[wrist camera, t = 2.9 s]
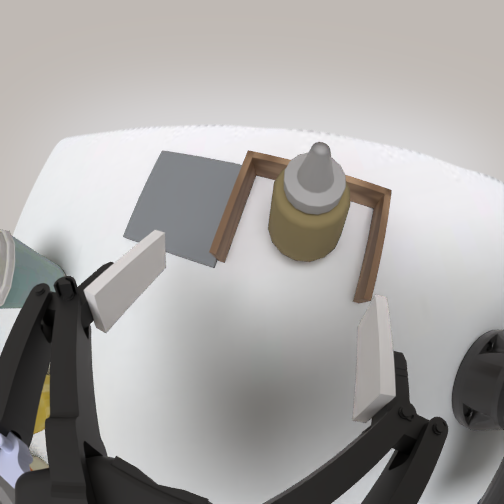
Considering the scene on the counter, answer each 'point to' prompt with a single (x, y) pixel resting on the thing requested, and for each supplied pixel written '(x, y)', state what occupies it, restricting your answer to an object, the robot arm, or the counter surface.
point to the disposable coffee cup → (22, 271)
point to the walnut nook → (358, 194)
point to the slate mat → (184, 204)
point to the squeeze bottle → (309, 205)
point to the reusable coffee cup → (3, 493)
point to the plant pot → (43, 406)
